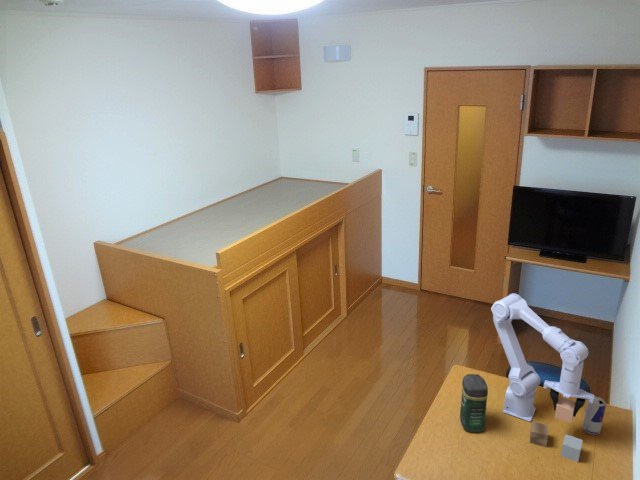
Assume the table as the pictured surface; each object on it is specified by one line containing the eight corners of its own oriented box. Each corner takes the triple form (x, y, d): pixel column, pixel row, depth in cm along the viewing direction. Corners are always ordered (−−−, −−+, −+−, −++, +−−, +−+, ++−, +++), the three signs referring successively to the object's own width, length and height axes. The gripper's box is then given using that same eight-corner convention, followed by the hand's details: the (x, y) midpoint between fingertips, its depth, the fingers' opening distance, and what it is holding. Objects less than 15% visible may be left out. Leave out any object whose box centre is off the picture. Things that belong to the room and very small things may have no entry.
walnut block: (529, 443, 161) (531, 431, 159) (530, 432, 165) (531, 421, 163) (546, 447, 159) (547, 435, 157) (546, 436, 163) (548, 425, 161)
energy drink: (602, 436, 162) (608, 407, 157) (585, 434, 163) (590, 406, 158) (597, 424, 167) (603, 396, 162) (580, 423, 168) (585, 395, 163)
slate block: (560, 456, 155) (562, 444, 153) (563, 446, 159) (565, 434, 157) (578, 462, 152) (580, 450, 151) (580, 452, 156) (582, 440, 154)
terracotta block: (554, 417, 160) (556, 405, 158) (557, 408, 163) (559, 396, 162) (571, 423, 157) (573, 410, 155) (574, 413, 161) (576, 401, 159)
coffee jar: (487, 433, 166) (491, 389, 159) (463, 433, 166) (466, 389, 159) (480, 414, 175) (483, 371, 168) (457, 414, 175) (460, 371, 168)
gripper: (543, 377, 156) (538, 411, 160) (594, 392, 148) (587, 427, 153) (548, 365, 161) (543, 398, 166) (597, 379, 153) (591, 414, 158)
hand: (565, 411), depth 160 cm, fingers closed on terracotta block, 5 cm apart
